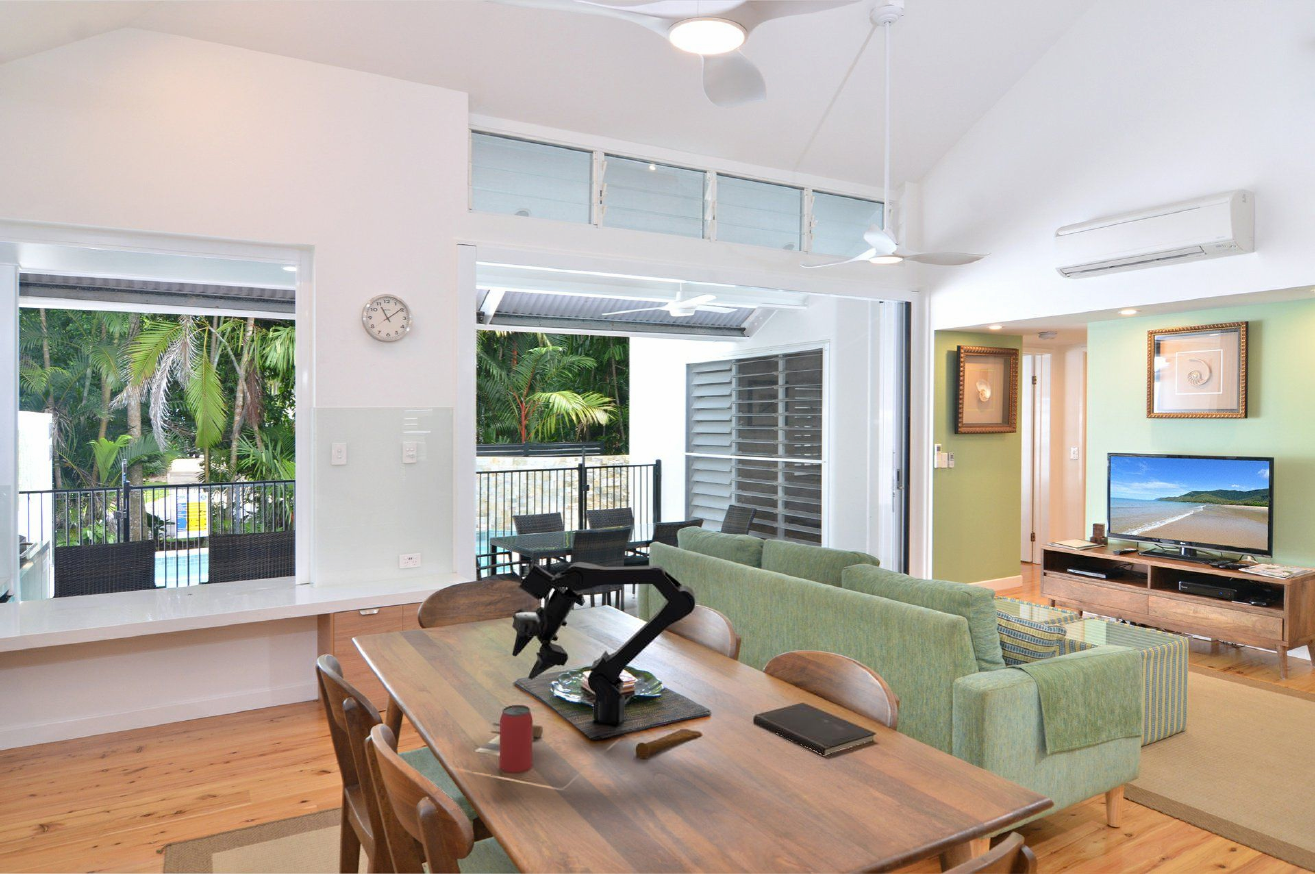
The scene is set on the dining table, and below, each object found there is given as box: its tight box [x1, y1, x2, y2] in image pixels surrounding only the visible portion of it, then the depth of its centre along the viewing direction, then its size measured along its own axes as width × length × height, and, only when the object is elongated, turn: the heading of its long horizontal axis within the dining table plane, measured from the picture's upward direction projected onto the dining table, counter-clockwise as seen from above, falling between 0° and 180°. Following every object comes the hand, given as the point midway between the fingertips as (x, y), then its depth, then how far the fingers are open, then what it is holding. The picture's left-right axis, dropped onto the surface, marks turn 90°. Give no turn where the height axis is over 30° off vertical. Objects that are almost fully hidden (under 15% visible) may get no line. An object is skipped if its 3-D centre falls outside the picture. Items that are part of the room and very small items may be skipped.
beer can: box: [499, 704, 534, 774], centre depth 166 cm, size 7×7×12 cm
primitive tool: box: [635, 728, 703, 760], centre depth 179 cm, size 19×6×4 cm, turn 144°
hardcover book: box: [753, 702, 877, 756], centre depth 187 cm, size 16×23×2 cm
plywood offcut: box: [474, 734, 536, 757], centre depth 179 cm, size 8×15×1 cm, turn 158°
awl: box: [492, 722, 544, 738], centre depth 184 cm, size 12×2×2 cm, turn 68°
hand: (521, 667), depth 193 cm, fingers open, 9 cm apart
